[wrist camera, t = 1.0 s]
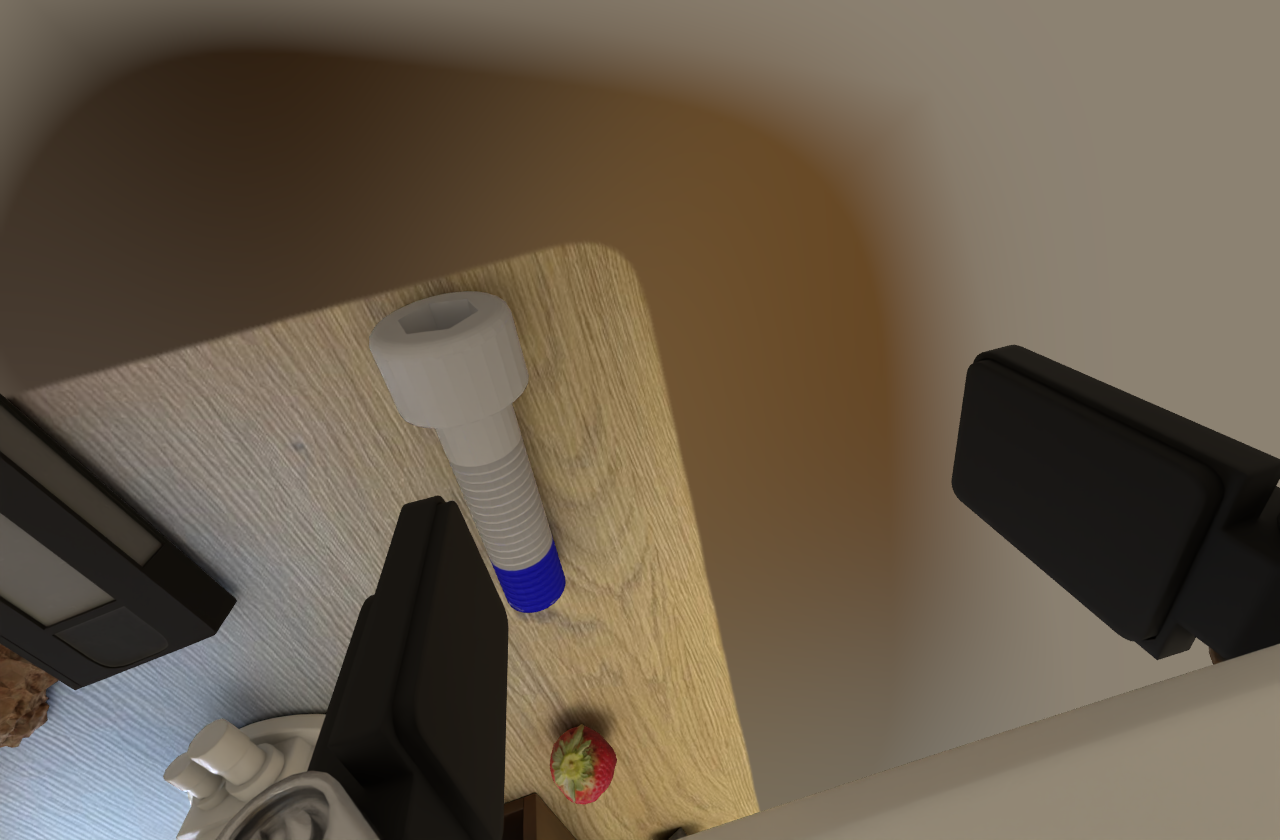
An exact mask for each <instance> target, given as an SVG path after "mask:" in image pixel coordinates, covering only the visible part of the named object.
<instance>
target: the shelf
mask: <svg viewBox="0 0 1280 840" xmlns="http://www.w3.org/2000/svg"><path fill="white" fill-rule="evenodd" d="M502 840H576V839H575V838H574V837H573V836H572V834H571V833H570V832H569V831H568V830H567V829H566V827H565V826H564V825H563V824H562V823H561V822H560V820H559V819H558V818H557V817H556V816H555V815H554V814H553V812H552V811H551V810H550V809H549V808H548V807H547V805H546V804H545V803H544V802H543V801H542V800H541V799H540V797H539V796H538V795H537V794H536V793H534V794H531V795H528V796H526V797H524V798H520V799H517V800H514V801H512V802H509V803H506V804H504V824H503V835H502Z"/></svg>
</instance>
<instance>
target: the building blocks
mask: <svg viewBox="0 0 1280 840" xmlns="http://www.w3.org/2000/svg"><path fill="white" fill-rule="evenodd" d="M686 836H687V835H686V833H685V832H684V830H683V829H682V828H680V829H679V830H677V831H676V832H675V833H674V834H673V835H672V836H671V837H670V838H669V839H668V840H677V839H680V838H683V837H686Z"/></svg>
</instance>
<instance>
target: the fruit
mask: <svg viewBox="0 0 1280 840" xmlns="http://www.w3.org/2000/svg"><path fill="white" fill-rule="evenodd" d="M616 762H617V758H616V754H615V752H614V750H613V748H612V747H611V746H610V745H609V744H608V742H607V741H606V740H605V739H604V738H603V737H602V736H601V735H600V734H599V733H598V732H596V731H594V730H592V729H590V728H589V727H587V726H583V724H581V725H579V727H574V728H571V729H569V730H567V731H566V732H565V733H564V734H563V735H562V736H560V738H559V739H558V740H557V742H556V743H554V745H553V750H552V753H551V760H550V770H551V774H552V778H553V781H554V783H555V784H556V785H557V786H558V787H559V789H560V790H561V791H562V792H563V794H564V795H565V797H566V798H567V799H568V800H570V801H571V802H573V803H576V804H587V803H591V802H594V801H596V800H597V799H598V797H599V796H600V795H601V794H602V793H603V792H605V790H606V789H607V788H608V786H609V785H610V783H611V781H612V778H613V775H614V769H615V766H616Z"/></svg>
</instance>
